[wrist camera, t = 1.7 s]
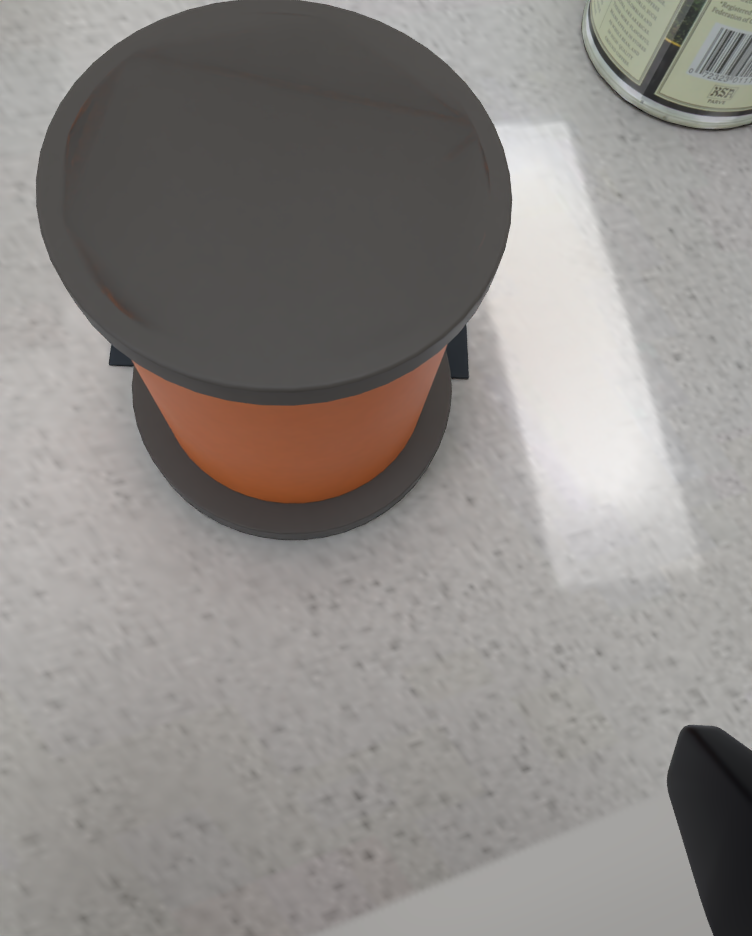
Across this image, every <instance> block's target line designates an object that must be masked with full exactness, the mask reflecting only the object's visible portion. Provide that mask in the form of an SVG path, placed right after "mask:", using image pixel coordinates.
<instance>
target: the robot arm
mask: <svg viewBox="0 0 752 936" xmlns="http://www.w3.org/2000/svg"><path fill="white" fill-rule="evenodd" d="M667 787H668V793H669V797H670V800H671V803H672V806H673V810H674V813H675V816H676V820H677V823H678V826H679V830H680V833H681V836H682V839H683V843H684V846H685V849H686V853H687V856H688V859H689V863H690V866H691V869H692V872H693V876H694V879H695V882H696V886H697V889H698V892H699V896H700V899H701V902H702V905H703V908H704V911H705V914H706V917H707V920H708V922H709V925H710V927H711V930H712V933H713V935H714V936H752V751H751V750H750V749H749V748H747V747H746V746H744V745H743V744H742V743H740V742H739V741H737V740H736V739H735V738H733V737H732V736H731V735H729V734H728V733H726V732H725V731H724V730H722V729H720V728H718V727H715V726H703V725H688V726H685V727H684V728H683V729H682V730H681V732H680V734H679V737H678V740H677V744H676V747H675V750H674V753H673V757H672V760H671V763H670V767H669V770H668V775H667Z"/></svg>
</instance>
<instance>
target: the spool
mask: <svg viewBox="0 0 752 936" xmlns="http://www.w3.org/2000/svg"><path fill="white" fill-rule="evenodd" d="M36 207H37V213H38V218H39V224H40V229H41V234H42V237H43V240H44V243H45V246H46V249H47V251H48V254H49V257H50V260H51V262H52V264H53V266H54V267H55V269H56V271H57V273H58V275H59V277H60V278H61V280H62V282H63V284H64V286H65V287H66V289H67V291H68V292H69V294H70V295H71V297H72V298H73V300H74V302H75V303H76V304H77V306H78V307H79V308H80V310H81V311H82V312H83V314H84V315H85V316H86V318H87V319H88V320H89V322H90V323H91V324H92V326H93V327H94V328H95V329H97V330H98V331H99V332H100V333H101V334H102V335H103V336H104V337H105V338H106V339H107V340H108V341H109V342H110V343H111V344H112V345H113V346H114V347H115V348H116V349H118V350H119V351H120V352H122V353H123V354H124V355H126V356H127V357H128V358H130V359H131V360H132V362H133V364H134V371H133V381H132V394H133V407H134V412H135V417H136V422H137V426H138V429H139V432H140V434H141V437H142V440H143V443H144V445H145V447H146V449H147V450H148V452H149V454H150V456H151V458H152V460H153V462H154V463H155V464H156V466H157V467H158V468H159V470H160V471H161V473H162V474H163V475H164V477H165V478H166V479H167V481H168V482H169V483H170V485H171V486H172V487H173V488H174V489H175V490H176V491H177V492H178V493H179V494H180V495H181V496H182V497H183V498H184V499H185V500H186V501H187V502H188V503H190V504H191V505H192V506H194V507H195V508H196V509H198V510H199V511H200V512H202V513H203V514H205V515H207V516H208V517H210V518H212V519H214V520H215V521H217V522H219V523H221V524H223V525H225V526H228V527H230V528H233V529H235V530H238V531H240V532H244V533H248V534H252V535H256V536H259V537H265V538H273V539H281V540H305V539H313V538H320V537H327V536H331V535H334V534H338V533H342V532H346V531H348V530H351V529H353V528H356V527H358V526H360V525H363V524H365V523H367V522H369V521H371V520H372V519H374V518H376V517H378V516H379V515H381V514H383V513H384V512H386V511H387V510H388V509H390V508H391V507H392V506H393V505H395V504H396V503H397V502H399V501H400V500H401V499H402V498H403V497H404V496H405V495H406V494H407V493H408V492H409V491H410V490H411V489H412V488H413V487H414V486H415V484H416V483H417V482H418V480H419V479H420V478H421V476H422V475H423V474H424V472H425V471H426V469H427V467H428V466H429V464H430V462H431V460H432V458H433V457H434V455H435V453H436V451H437V449H438V447H439V445H440V442H441V440H442V437H443V434H444V432H445V429H446V426H447V421H448V417H449V412H450V405H451V393H452V387H451V372H450V367H449V362H448V357H447V353H446V350H445V349H446V347H447V344H448V343H449V342H450V341H451V340H452V339H453V338H454V337H456V336H457V335H458V334H459V332H460V331H461V330H462V329H463V327H464V326H465V325H466V324H467V322H468V321H469V320H470V319H471V317H472V316H473V315H474V314H475V312H476V310H477V309H478V307H479V305H480V304H481V302H482V300H483V298H484V297H485V295H486V293H487V291H488V290H489V287H490V285H491V283H492V281H493V278H494V276H495V274H496V271H497V269H498V266H499V263H500V261H501V258H502V256H503V253H504V251H505V247H506V243H507V238H508V233H509V229H510V224H511V208H512V193H511V183H510V173H509V169H508V165H507V161H506V157H505V153H504V149H503V146H502V144H501V141H500V139H499V136H498V134H497V132H496V129H495V127H494V124H493V123H492V121H491V119H490V118H489V116H488V114H487V112H486V111H485V109H484V107H483V105H482V104H481V102H480V101H479V100H478V98H477V97H476V96H475V94H474V93H473V92H472V91H471V89H470V88H469V87H468V85H467V84H466V83H465V82H464V81H463V80H462V79H461V78H460V77H459V76H458V75H457V74H456V73H455V72H454V71H453V70H452V69H451V68H450V67H449V66H448V65H447V64H446V63H445V62H444V61H443V60H441V59H440V58H439V57H438V56H436V55H435V54H434V53H433V52H431V51H430V50H429V49H428V48H426V47H425V46H423V45H422V44H420V43H418V42H417V41H415V40H414V39H412V38H410V37H409V36H407V35H406V34H404V33H402V32H400V31H398V30H396V29H394V28H392V27H390V26H388V25H386V24H384V23H382V22H380V21H377V20H375V19H372V18H369V17H367V16H364V15H361V14H359V13H356V12H353V11H349V10H345V9H342V8H338V7H334V6H330V5H326V4H320V3H314V2H307V1H301V0H236V1H228V2H221V3H214V4H210V5H206V6H202V7H197V8H193V9H189V10H186V11H183V12H180V13H178V14H175V15H172V16H169V17H166V18H163V19H161V20H159V21H157V22H155V23H153V24H151V25H149V26H147V27H144V28H142V29H140V30H138V31H136V32H135V33H133V34H132V35H130V36H129V37H127V38H125V39H124V40H122V41H121V42H119V43H118V44H116V45H114V46H113V47H112V48H111V49H110V50H108V51H107V52H106V53H105V54H103V55H102V56H101V57H100V58H99V59H97V60H96V61H95V62H94V63H93V64H92V65H91V66H90V67H89V68H88V69H87V70H86V71H85V72H84V73H83V74H82V75H81V77H80V78H79V79H78V80H77V81H76V82H75V83H74V85H73V86H72V87H71V89H70V90H69V92H68V93H67V95H66V96H65V97H64V99H63V100H62V102H61V103H60V105H59V107H58V109H57V111H56V113H55V115H54V117H53V119H52V121H51V123H50V125H49V127H48V130H47V133H46V136H45V139H44V142H43V145H42V148H41V151H40V157H39V164H38V170H37V177H36Z"/></svg>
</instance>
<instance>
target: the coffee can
mask: <svg viewBox="0 0 752 936" xmlns="http://www.w3.org/2000/svg"><path fill="white" fill-rule="evenodd" d="M582 34H583V40H584V44H585V47H586V50H587V53H588V55H589V57H590V59H591V61H592V63H593V64H594V66H595V68H596V70H597V71H598V73H599V74H600V75H601V76H602V77H603V78H604V79H605V80H606V82H607V83H608V84H609V85H610V86H611V87H612V88H613V89H614V90H615V91H616V92H617V93H618V94H619V95H620V96H621V97H623V98H624V99H625V100H626V101H628V102H629V103H631V104H633V105H635V106H636V107H637V108H639V109H641V110H643V111H644V112H646V113H648V114H650V115H652V116H655V117H657V118H659V119H662V120H664V121H666V122H671V123H675V124H679V125H684V126H688V127H693V128H702V129H723V128H733V127H738V126H741V125H746V124H750V123H752V0H588V1H587V3H586V5H585V9H584V13H583V20H582Z"/></svg>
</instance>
